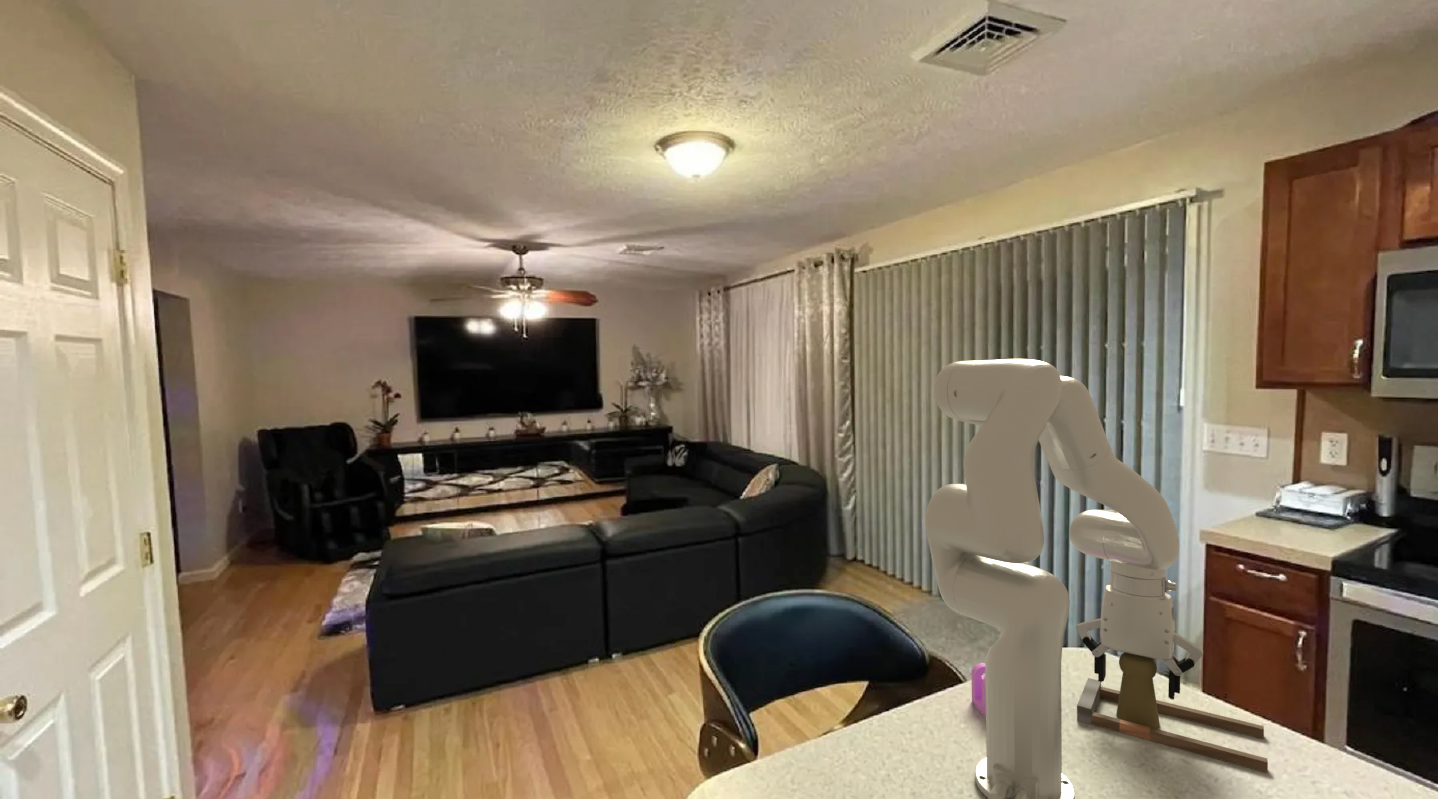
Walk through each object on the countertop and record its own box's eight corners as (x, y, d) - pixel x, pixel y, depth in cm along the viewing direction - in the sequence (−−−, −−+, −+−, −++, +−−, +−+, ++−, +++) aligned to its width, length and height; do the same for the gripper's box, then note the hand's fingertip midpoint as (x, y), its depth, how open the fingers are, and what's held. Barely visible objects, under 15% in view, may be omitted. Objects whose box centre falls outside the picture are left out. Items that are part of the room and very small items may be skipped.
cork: (1167, 731, 102) (1167, 664, 101) (1125, 728, 103) (1124, 662, 103) (1149, 711, 108) (1149, 647, 107) (1110, 709, 109) (1110, 645, 109)
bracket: (985, 718, 108) (985, 678, 107) (971, 701, 113) (971, 663, 113) (1062, 715, 108) (1061, 675, 108) (1044, 698, 113) (1044, 660, 113)
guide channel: (1267, 772, 91) (1267, 755, 91) (1077, 720, 106) (1077, 705, 106) (1263, 735, 100) (1263, 719, 100) (1088, 691, 115) (1088, 677, 115)
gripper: (1204, 588, 102) (1202, 693, 103) (1081, 568, 113) (1079, 664, 113) (1203, 601, 96) (1201, 713, 97) (1073, 579, 107) (1072, 680, 107)
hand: (1135, 687), depth 105 cm, fingers open, 9 cm apart
